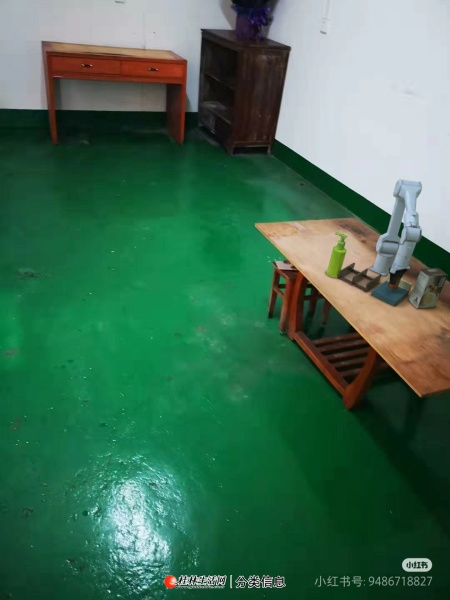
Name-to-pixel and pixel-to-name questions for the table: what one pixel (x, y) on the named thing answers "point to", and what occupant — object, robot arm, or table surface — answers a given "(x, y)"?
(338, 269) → the soap dispenser
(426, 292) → the coffee box
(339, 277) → the shelf rack
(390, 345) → the table surface
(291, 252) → the table surface
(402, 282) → the sill
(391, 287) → the bottle
